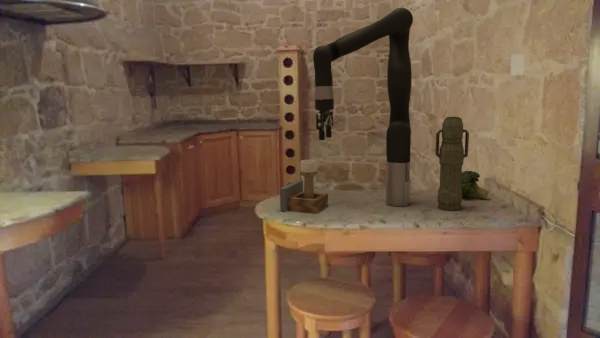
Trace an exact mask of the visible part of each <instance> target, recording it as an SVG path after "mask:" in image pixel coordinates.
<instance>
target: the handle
mask: <svg viewBox="0 0 600 338" xmlns="http://www.w3.org/2000/svg"><path fill="white" fill-rule="evenodd" d="M299 172H300V174H299V175H300V176H301V175H302V176H304V198H308V199H314V190H315V189H314V187H313V176H315V177H316V175H318V170H317V169H316V170H300V171H299Z"/></svg>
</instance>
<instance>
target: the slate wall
mask: <svg viewBox="0 0 600 338" xmlns="http://www.w3.org/2000/svg"><path fill="white" fill-rule="evenodd" d="M300 191H301V192H303V180H301V179H296V180H294V181H293V182H290V183H289V184H287V185H284V186H282V187H280V188H279V204H280V206H279V207H280V212H285V213H287V212H289V211H288V198H289V197H291V196H293V195H295V194H296V193H298V192H300Z"/></svg>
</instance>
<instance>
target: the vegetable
mask: <svg viewBox="0 0 600 338" xmlns="http://www.w3.org/2000/svg"><path fill="white" fill-rule="evenodd" d="M480 177H481V175H480V174H479V172H476V171H472V170H464V171H462V176H461V190H462V199H463V198H465V197H466V196H478V197H479V198H481V199H482V200H486V199H487V197H488V195H489V193H490V191H489V190H487V188H482V187H480V186H479V185H478V182H479V181H480V180H479V178H480Z"/></svg>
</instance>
